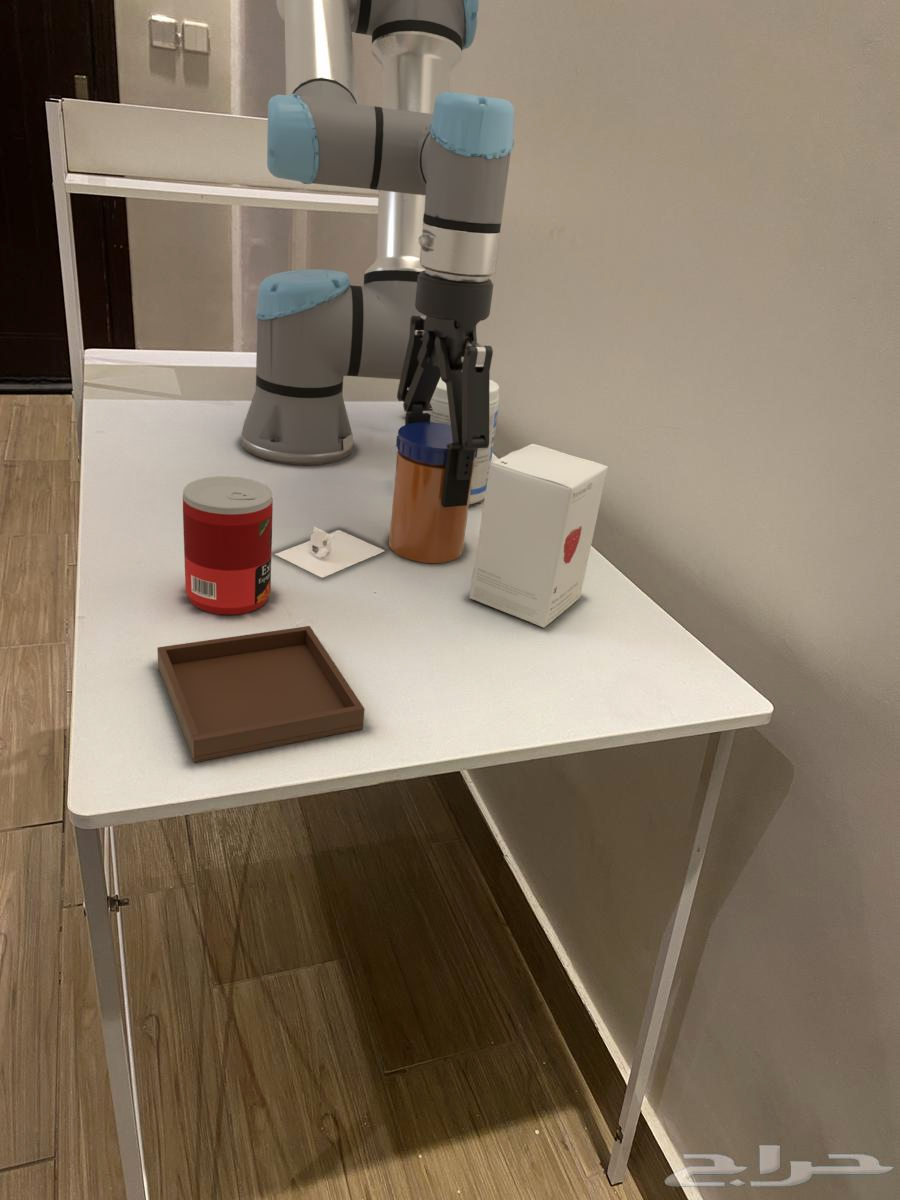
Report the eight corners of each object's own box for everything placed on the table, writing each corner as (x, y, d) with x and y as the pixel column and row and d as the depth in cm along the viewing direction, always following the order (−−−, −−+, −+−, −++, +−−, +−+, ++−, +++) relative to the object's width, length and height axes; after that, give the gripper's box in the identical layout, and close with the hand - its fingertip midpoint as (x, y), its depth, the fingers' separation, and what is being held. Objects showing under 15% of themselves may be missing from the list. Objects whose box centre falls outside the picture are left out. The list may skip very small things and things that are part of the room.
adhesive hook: (304, 553, 98) (305, 526, 96) (321, 546, 100) (322, 520, 98) (324, 563, 96) (326, 536, 95) (341, 556, 98) (343, 529, 97)
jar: (377, 534, 104) (386, 430, 98) (442, 528, 108) (454, 427, 102) (407, 567, 98) (418, 457, 92) (475, 559, 102) (490, 452, 96)
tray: (157, 667, 76) (157, 647, 75) (308, 644, 82) (309, 625, 81) (193, 762, 66) (193, 740, 65) (363, 729, 72) (364, 708, 71)
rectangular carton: (544, 630, 89) (572, 488, 82) (467, 599, 93) (486, 461, 86) (583, 598, 96) (611, 464, 89) (509, 571, 100) (530, 440, 93)
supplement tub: (500, 503, 117) (517, 391, 110) (439, 512, 112) (452, 395, 105) (459, 476, 124) (472, 369, 117) (399, 484, 119) (409, 372, 112)
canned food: (275, 614, 86) (277, 507, 81) (187, 618, 83) (184, 508, 78) (265, 577, 92) (267, 475, 87) (183, 579, 90) (180, 475, 85)
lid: (402, 463, 93) (404, 447, 92) (390, 435, 100) (392, 420, 100) (484, 467, 95) (487, 450, 94) (467, 439, 102) (469, 423, 101)
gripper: (376, 252, 96) (362, 453, 106) (476, 297, 79) (447, 531, 89) (440, 255, 99) (420, 450, 110) (548, 299, 82) (512, 524, 93)
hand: (432, 486), depth 100 cm, fingers open, 10 cm apart
